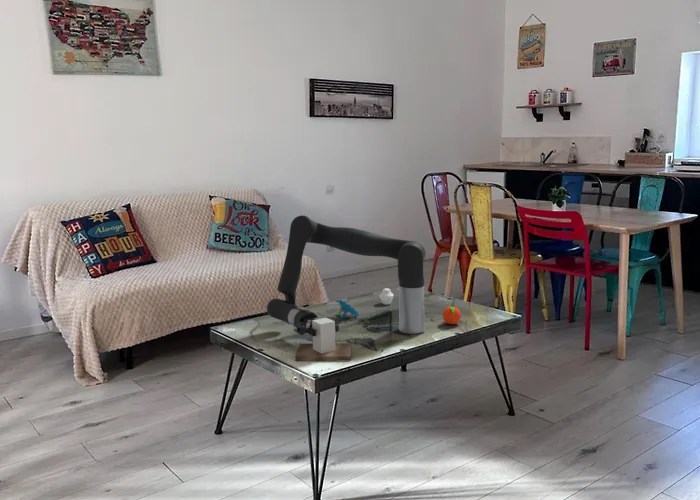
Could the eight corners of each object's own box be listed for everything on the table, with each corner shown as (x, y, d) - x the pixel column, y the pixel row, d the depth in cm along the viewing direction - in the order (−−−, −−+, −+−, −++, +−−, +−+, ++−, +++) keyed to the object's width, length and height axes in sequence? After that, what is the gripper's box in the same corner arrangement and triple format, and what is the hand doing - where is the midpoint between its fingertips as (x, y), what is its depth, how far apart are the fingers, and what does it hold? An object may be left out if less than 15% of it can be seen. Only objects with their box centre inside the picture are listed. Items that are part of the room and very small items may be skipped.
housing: (326, 345, 209) (326, 317, 207) (335, 350, 205) (334, 321, 203) (312, 349, 206) (312, 320, 204) (321, 353, 202) (320, 324, 200)
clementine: (462, 327, 232) (463, 309, 231) (444, 327, 232) (444, 309, 231) (459, 321, 240) (459, 303, 239) (441, 321, 240) (441, 304, 239)
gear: (363, 315, 244) (346, 299, 241) (354, 327, 243) (337, 311, 240) (352, 312, 255) (335, 297, 251) (344, 323, 253) (326, 308, 250)
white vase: (393, 301, 270) (393, 286, 269) (393, 305, 264) (393, 289, 263) (379, 301, 270) (379, 286, 269) (379, 305, 264) (379, 289, 263)
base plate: (351, 347, 212) (351, 329, 211) (350, 360, 199) (350, 341, 198) (299, 347, 212) (298, 329, 211) (295, 361, 200) (294, 341, 198)
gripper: (284, 312, 211) (307, 323, 198) (319, 306, 219) (344, 316, 206) (284, 333, 213) (308, 346, 199) (320, 326, 220) (345, 337, 207)
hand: (326, 331), depth 203 cm, fingers open, 8 cm apart
